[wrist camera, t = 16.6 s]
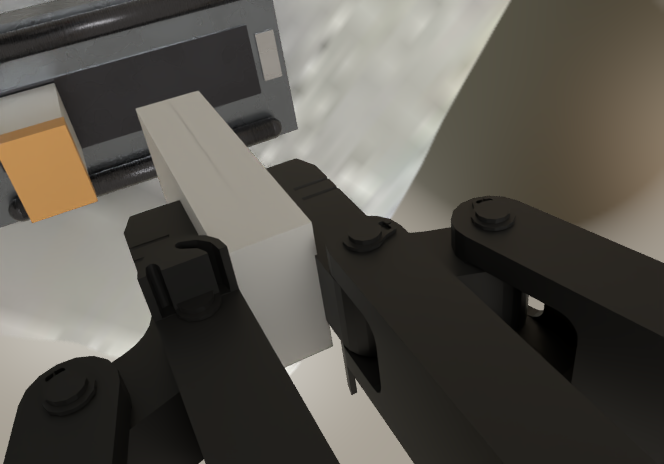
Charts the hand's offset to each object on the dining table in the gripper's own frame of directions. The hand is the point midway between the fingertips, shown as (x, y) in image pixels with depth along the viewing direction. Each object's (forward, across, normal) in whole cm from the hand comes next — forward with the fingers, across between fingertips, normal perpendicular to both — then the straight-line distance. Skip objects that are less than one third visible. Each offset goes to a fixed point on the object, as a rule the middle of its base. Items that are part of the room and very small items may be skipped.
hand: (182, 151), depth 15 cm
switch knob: (+23, -4, -7) cm, 24 cm away
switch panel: (+26, +1, -7) cm, 27 cm away
